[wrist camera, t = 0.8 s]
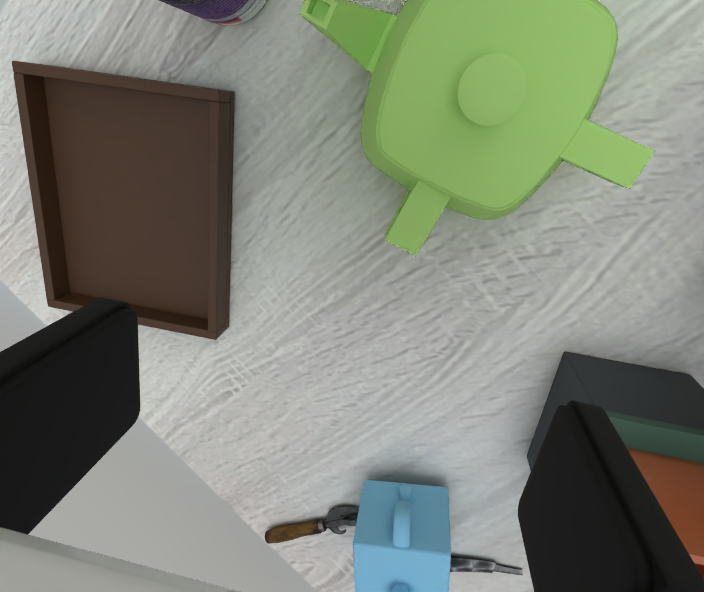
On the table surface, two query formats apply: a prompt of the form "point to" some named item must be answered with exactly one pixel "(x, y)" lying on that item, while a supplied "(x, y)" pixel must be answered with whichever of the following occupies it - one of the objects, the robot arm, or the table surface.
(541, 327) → the table surface
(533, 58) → the teapot
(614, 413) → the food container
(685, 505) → the terracotta tub
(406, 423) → the table surface
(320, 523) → the can opener
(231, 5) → the pill bottle
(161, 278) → the tray
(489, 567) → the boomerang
